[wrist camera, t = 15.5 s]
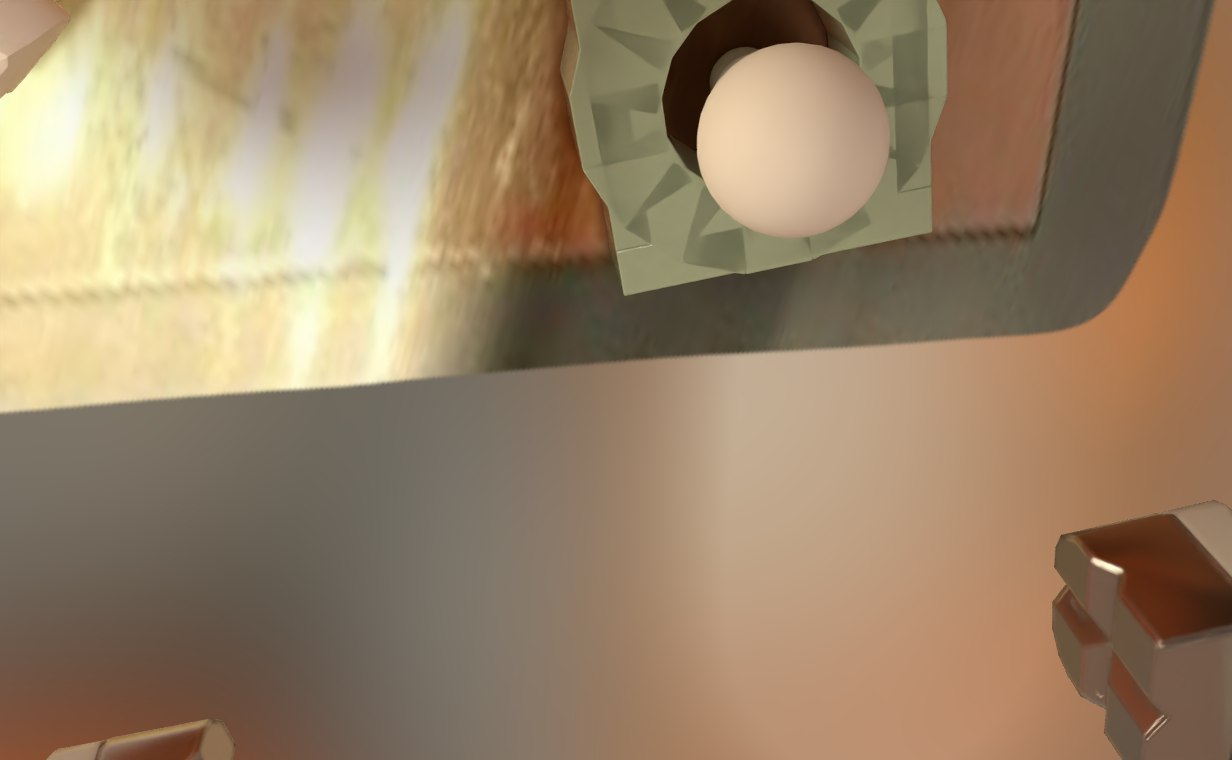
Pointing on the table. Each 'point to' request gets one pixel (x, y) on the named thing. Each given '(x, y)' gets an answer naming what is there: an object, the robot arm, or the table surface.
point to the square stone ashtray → (669, 170)
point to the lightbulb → (791, 138)
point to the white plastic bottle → (26, 37)
